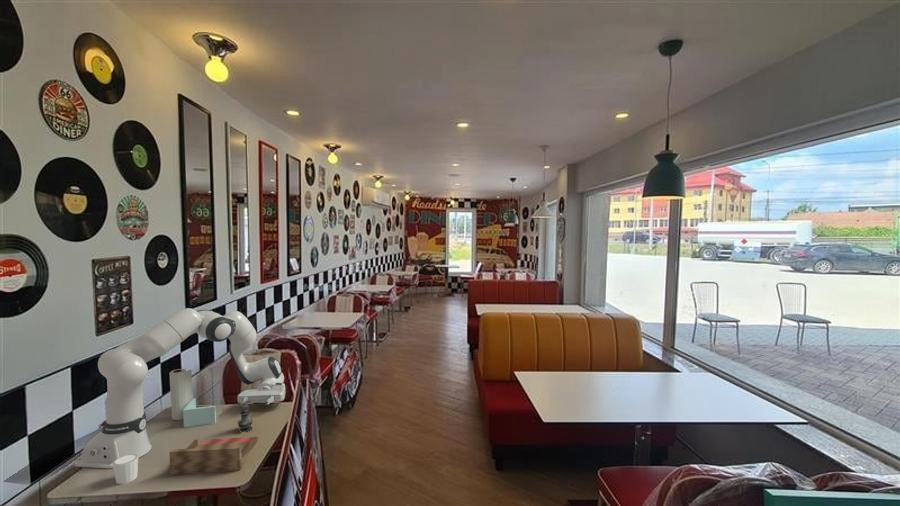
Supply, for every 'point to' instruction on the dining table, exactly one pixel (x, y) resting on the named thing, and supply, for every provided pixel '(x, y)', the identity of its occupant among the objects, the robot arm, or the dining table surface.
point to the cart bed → (212, 455)
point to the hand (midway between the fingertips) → (255, 403)
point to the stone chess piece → (245, 419)
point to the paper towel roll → (180, 391)
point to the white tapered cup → (125, 468)
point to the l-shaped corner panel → (198, 414)
